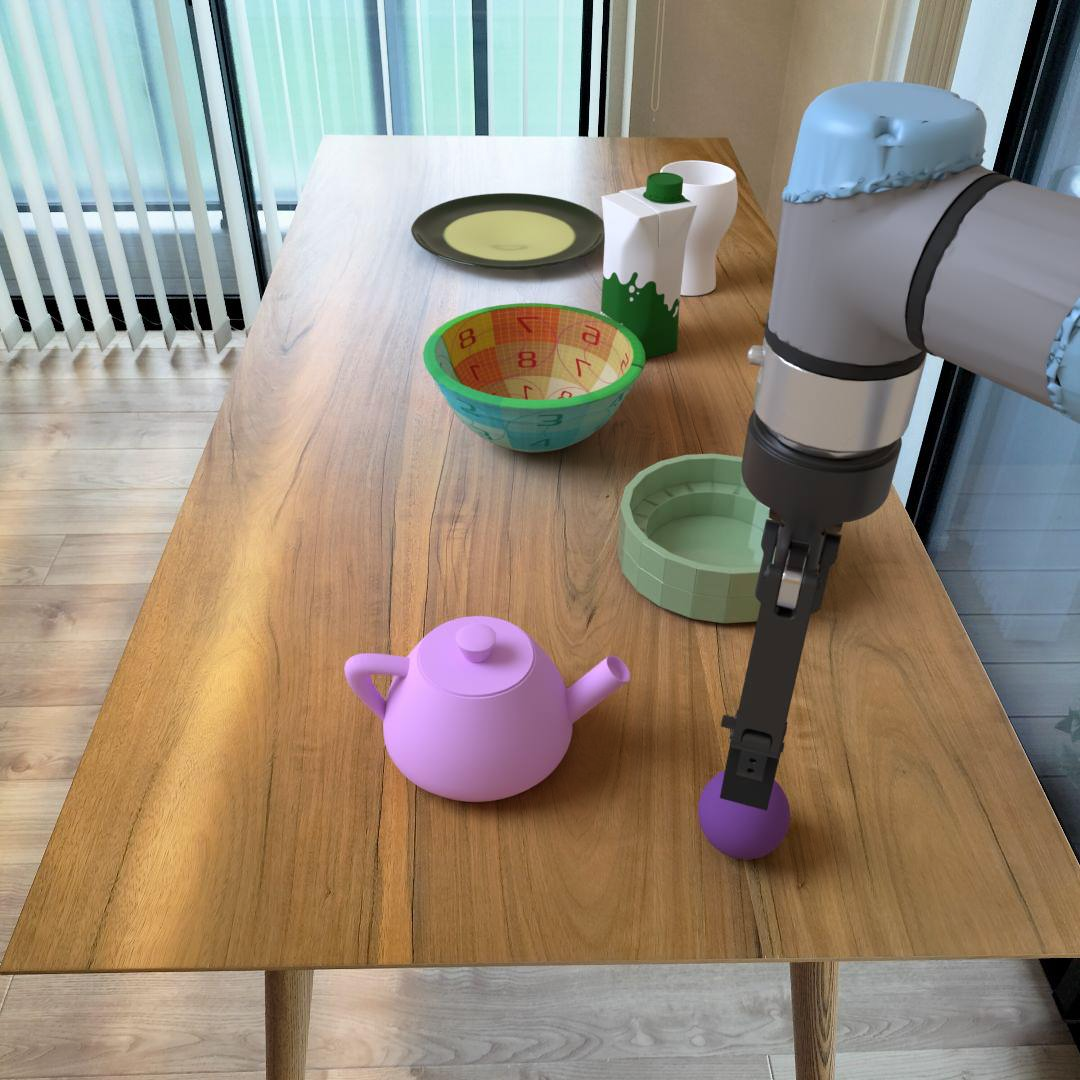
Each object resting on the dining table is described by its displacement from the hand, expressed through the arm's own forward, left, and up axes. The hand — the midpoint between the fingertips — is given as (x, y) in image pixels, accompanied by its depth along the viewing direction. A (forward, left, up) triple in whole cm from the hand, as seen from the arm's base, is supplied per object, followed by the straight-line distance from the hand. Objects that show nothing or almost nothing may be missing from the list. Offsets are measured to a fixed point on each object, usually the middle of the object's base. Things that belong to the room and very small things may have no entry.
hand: (763, 716), depth 67 cm
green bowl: (+21, -22, -12) cm, 32 cm away
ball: (0, 0, -12) cm, 12 cm away
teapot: (+18, +7, -12) cm, 23 cm away
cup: (+63, -65, -12) cm, 91 cm away
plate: (+89, -56, -12) cm, 106 cm away
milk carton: (+55, -47, -12) cm, 73 cm away
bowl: (+48, -24, -12) cm, 55 cm away
